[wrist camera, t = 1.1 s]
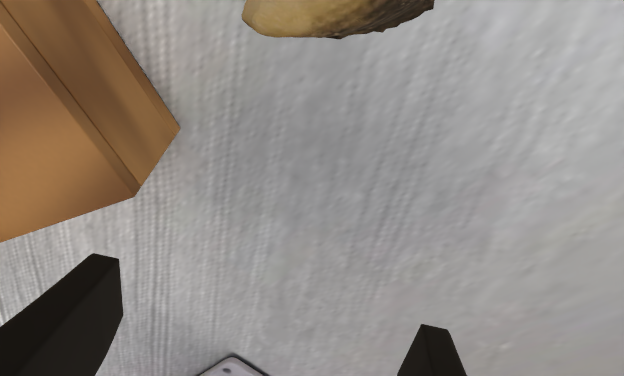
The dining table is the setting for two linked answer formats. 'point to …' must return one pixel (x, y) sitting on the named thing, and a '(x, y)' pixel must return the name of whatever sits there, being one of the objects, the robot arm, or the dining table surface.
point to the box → (99, 77)
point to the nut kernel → (329, 16)
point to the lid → (48, 145)
